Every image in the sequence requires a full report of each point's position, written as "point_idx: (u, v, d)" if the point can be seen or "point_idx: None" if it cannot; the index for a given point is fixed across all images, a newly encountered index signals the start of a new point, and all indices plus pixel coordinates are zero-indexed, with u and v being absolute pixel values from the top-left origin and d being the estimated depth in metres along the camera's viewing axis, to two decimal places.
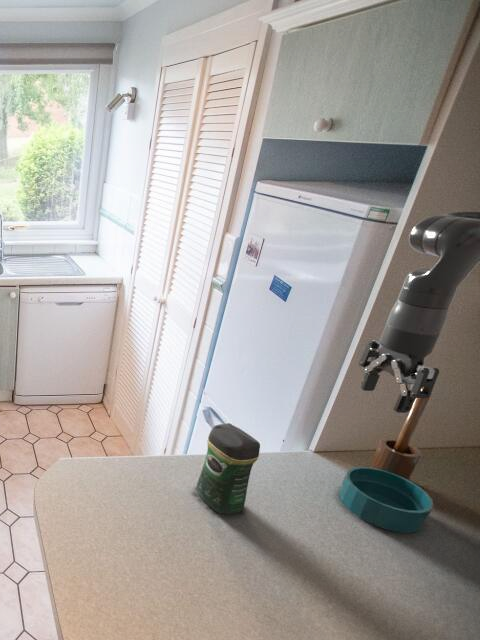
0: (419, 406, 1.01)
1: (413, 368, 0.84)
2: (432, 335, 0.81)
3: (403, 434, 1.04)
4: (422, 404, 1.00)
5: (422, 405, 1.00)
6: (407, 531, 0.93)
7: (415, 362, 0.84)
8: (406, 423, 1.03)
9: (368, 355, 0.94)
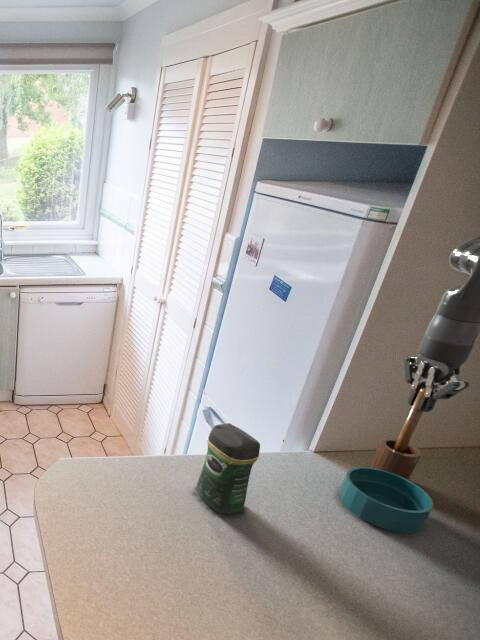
0: None
1: (450, 375, 0.94)
2: (468, 346, 0.92)
3: (403, 434, 1.04)
4: None
5: None
6: (407, 531, 0.93)
7: (452, 373, 0.94)
8: (406, 423, 1.03)
9: (410, 370, 1.03)
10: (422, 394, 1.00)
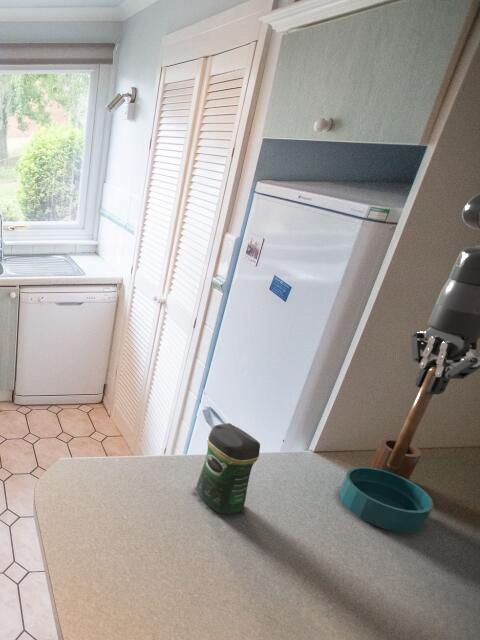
0: None
1: (466, 350, 0.80)
2: None
3: (410, 421, 0.90)
4: None
5: None
6: (407, 531, 0.93)
7: (468, 347, 0.80)
8: (413, 408, 0.90)
9: (418, 347, 0.89)
10: (432, 374, 0.86)
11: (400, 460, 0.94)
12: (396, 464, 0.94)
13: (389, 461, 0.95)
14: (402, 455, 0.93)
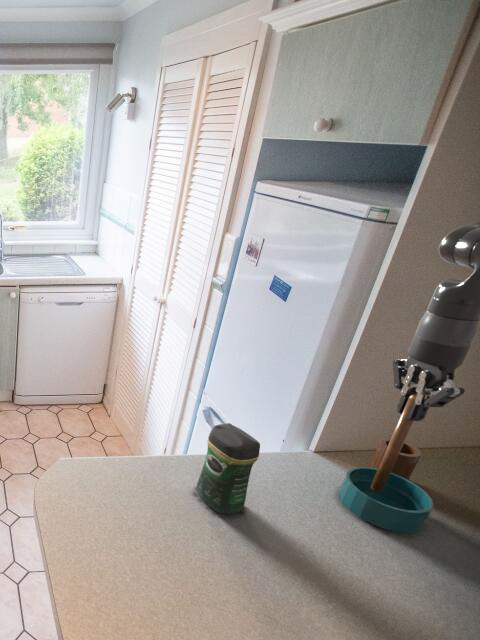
0: None
1: (443, 380, 0.83)
2: (463, 347, 0.80)
3: (392, 446, 0.93)
4: None
5: None
6: (407, 531, 0.93)
7: (446, 377, 0.82)
8: (395, 433, 0.92)
9: (399, 374, 0.92)
10: (412, 401, 0.89)
11: (383, 483, 0.96)
12: (379, 487, 0.97)
13: (373, 484, 0.98)
14: (385, 479, 0.96)
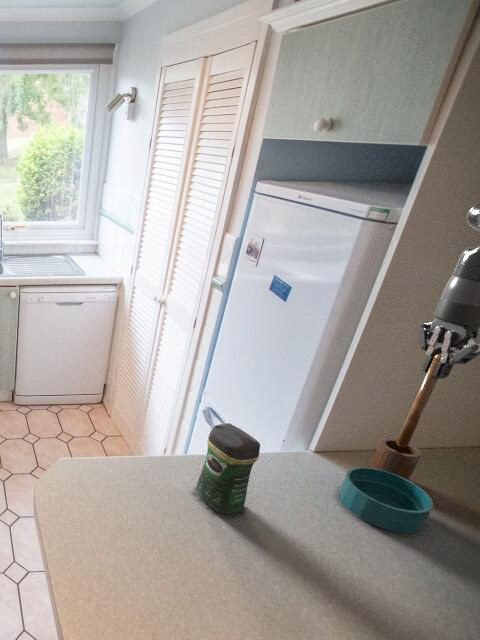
0: None
1: (468, 338, 0.91)
2: None
3: (418, 403, 1.01)
4: None
5: None
6: (407, 531, 0.93)
7: (470, 335, 0.90)
8: (420, 391, 1.00)
9: (425, 336, 0.99)
10: (437, 360, 0.96)
11: (408, 439, 1.04)
12: (405, 442, 1.04)
13: (398, 440, 1.05)
14: (410, 434, 1.03)
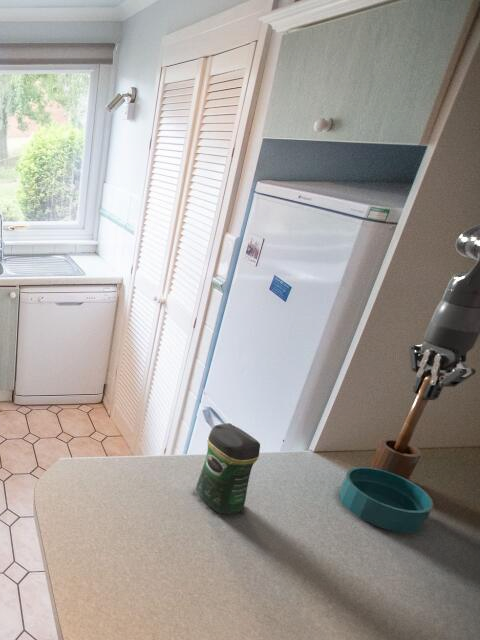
0: None
1: (456, 362, 0.93)
2: (475, 332, 0.90)
3: (408, 423, 1.03)
4: None
5: None
6: (407, 531, 0.93)
7: (458, 359, 0.92)
8: (411, 412, 1.02)
9: (416, 358, 1.01)
10: (427, 382, 0.99)
11: None
12: None
13: None
14: None
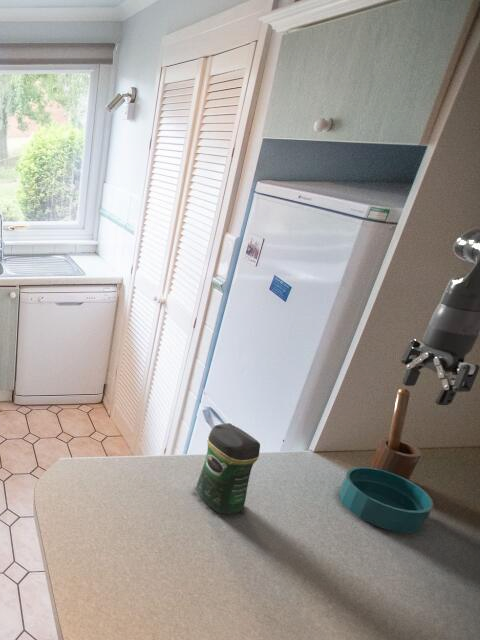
0: (401, 407, 1.01)
1: (455, 365, 0.93)
2: (473, 335, 0.91)
3: (393, 435, 1.04)
4: (403, 405, 1.01)
5: (403, 406, 1.01)
6: (407, 531, 0.93)
7: (457, 359, 0.93)
8: (393, 424, 1.04)
9: (410, 353, 1.03)
10: (400, 395, 1.00)
11: None
12: None
13: None
14: None
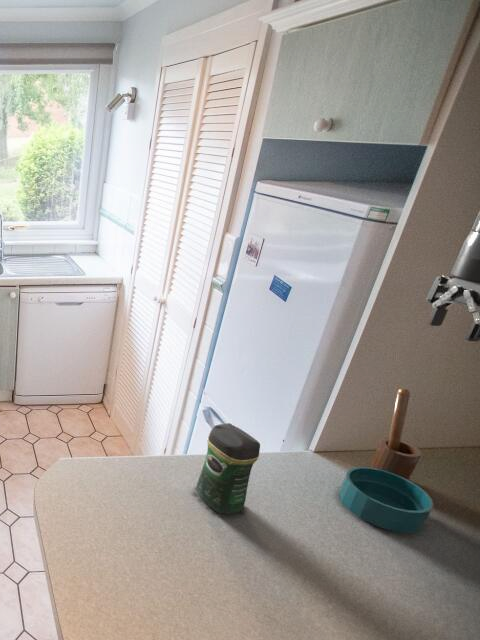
0: (401, 407, 1.01)
1: None
2: None
3: (393, 435, 1.04)
4: (403, 405, 1.01)
5: (403, 406, 1.01)
6: (407, 531, 0.93)
7: None
8: (393, 424, 1.04)
9: (436, 291, 0.97)
10: (400, 395, 1.00)
11: None
12: None
13: None
14: None
